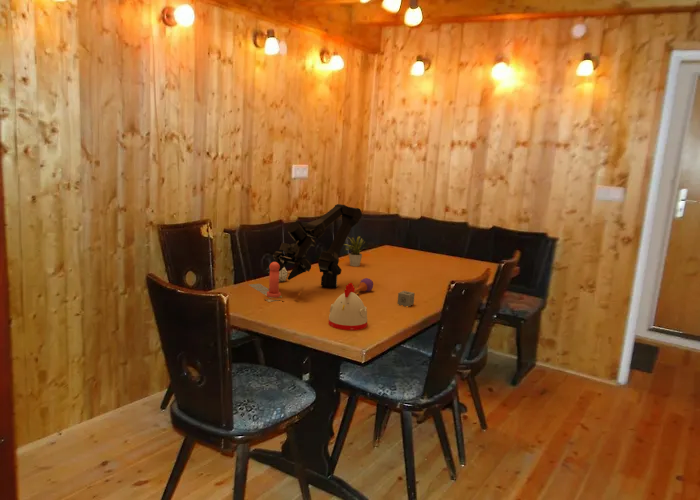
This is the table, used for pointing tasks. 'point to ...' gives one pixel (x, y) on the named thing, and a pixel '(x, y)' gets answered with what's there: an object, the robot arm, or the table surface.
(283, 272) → the game die
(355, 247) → the house plant
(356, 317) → the kitchen timer
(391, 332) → the table surface
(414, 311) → the table surface
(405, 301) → the grey symbol cube
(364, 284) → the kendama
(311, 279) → the table surface
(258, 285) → the board
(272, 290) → the pawn
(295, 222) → the robot arm
